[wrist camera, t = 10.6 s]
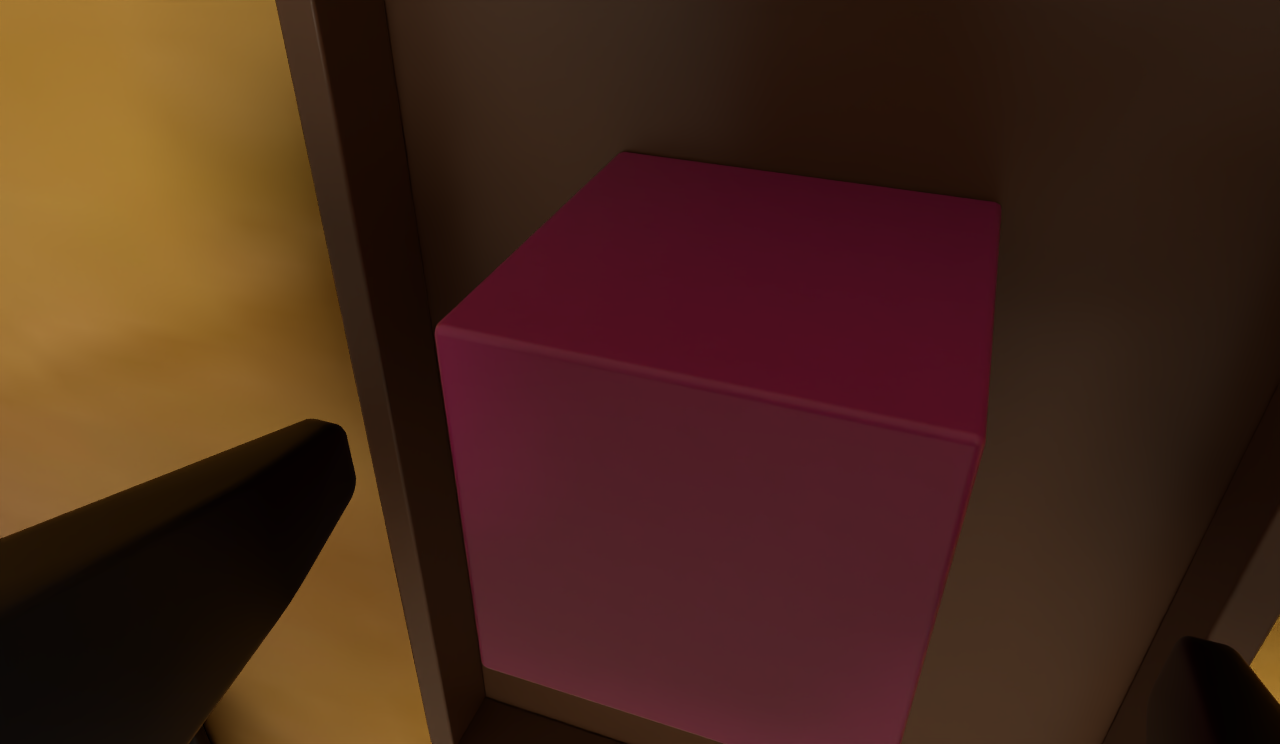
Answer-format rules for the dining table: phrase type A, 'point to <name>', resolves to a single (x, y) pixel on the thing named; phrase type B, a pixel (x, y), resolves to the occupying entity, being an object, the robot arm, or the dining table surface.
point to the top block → (724, 444)
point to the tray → (886, 157)
